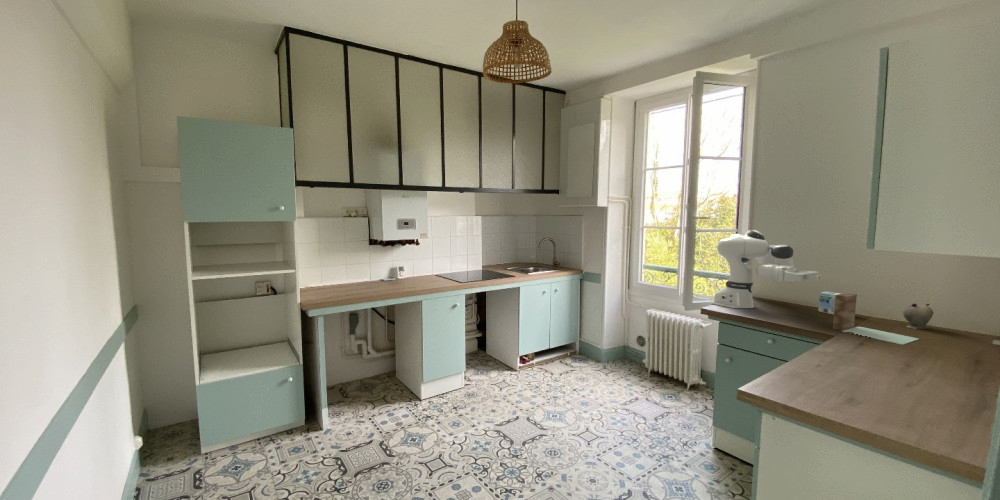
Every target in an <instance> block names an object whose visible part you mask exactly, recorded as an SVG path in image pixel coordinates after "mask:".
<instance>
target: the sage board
mask: <svg viewBox="0 0 1000 500" xmlns="http://www.w3.org/2000/svg"><path fill="white" fill-rule="evenodd" d="M841 332H842V333H847V332H853V333H854V334H853V335H856V334H858V335H857V336H860V335H862V337H865V336H867V337H866V338H869V337H871V338H870V339H873V340H874V339H875V340H879V341H883V342H887V343H893V344H897V345H901V346H902V345H903V346H904V345H906V344H910V343H912V342H915V341H919V340H920V338H917V337H914V336H908V335H903V334H899V333H893V332H887V331H884V330H878V329H873V328H868V327H863V326H854V328H851V329H847V330H843V331H841Z"/></svg>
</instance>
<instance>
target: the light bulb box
mask: <svg viewBox="0 0 1000 500" xmlns="http://www.w3.org/2000/svg"><path fill="white" fill-rule="evenodd" d="M838 294H841V293H840V292H839V293H838V292H832V291H821V292H820V293H819V302H818V309H817V310H818V312H820V313H825V314H829V315H833V316H834V308H835V296H836V295H838Z"/></svg>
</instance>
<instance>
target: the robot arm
mask: <svg viewBox="0 0 1000 500" xmlns="http://www.w3.org/2000/svg"><path fill="white" fill-rule="evenodd" d="M716 249H717V252H718V254H719V255H720V256H722V258H724V259H725V260H726V262H727V264H728V266H729V274H730V275H729V279H728V280H727V281H726V282H725V287H723V288H721V289H720V290H718V291H716V292H715V295H714V298H712V299H711V300H709V304H711V305H717V306H722V307H726V308H731V309H753V308H755V305H754V300H753V291H754V285H753V284H754V282H753V276H754V275H753V273H754V269H753V268H752V266H751V265H749V264H748V262H749V261H750V260H751V259H755V261H756V263H758V265H757V266H756V271H755V272H756V276H757V277H758V278H760V279H763V280H768V281H778V282H779V283H788V284H793V283H796V282H797V283H799V282H805V281H811V280H812V281H821V280H822V275H820V272H819V271H814V270H799V269H798V268H797V267H796V266H794V248H792V247H791V246H790V245H788V244H769V243H768V241H767V240H766V239H765V236H764V234H762V233H761V231H759V230H756V229H749V230H747V231H746V232H745V234H744V235H743V234H741V233H734V234H733V233H732V234H731V235H730V236H729V237H728V238H722V239H720V241H719V242H718V243H717V248H716Z"/></svg>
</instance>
